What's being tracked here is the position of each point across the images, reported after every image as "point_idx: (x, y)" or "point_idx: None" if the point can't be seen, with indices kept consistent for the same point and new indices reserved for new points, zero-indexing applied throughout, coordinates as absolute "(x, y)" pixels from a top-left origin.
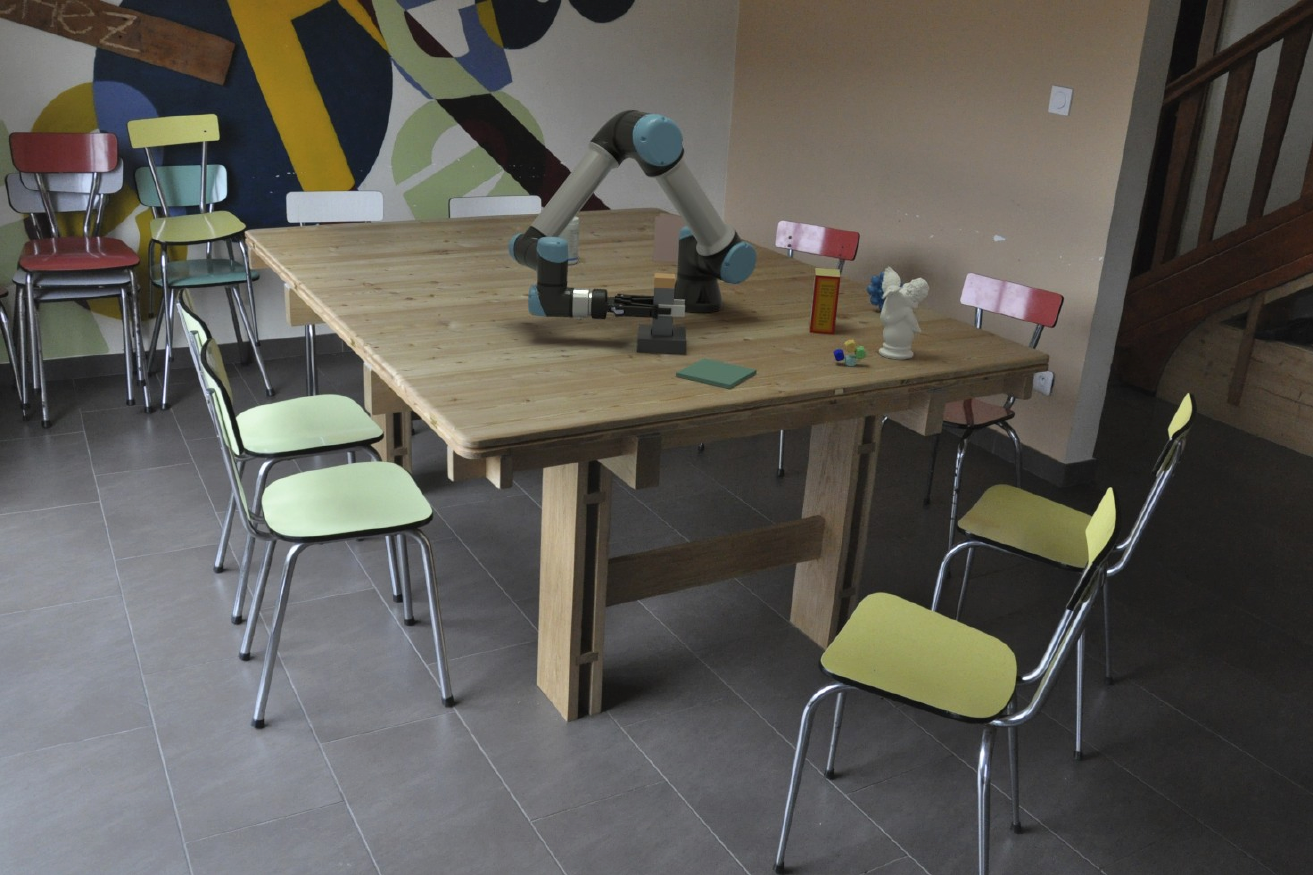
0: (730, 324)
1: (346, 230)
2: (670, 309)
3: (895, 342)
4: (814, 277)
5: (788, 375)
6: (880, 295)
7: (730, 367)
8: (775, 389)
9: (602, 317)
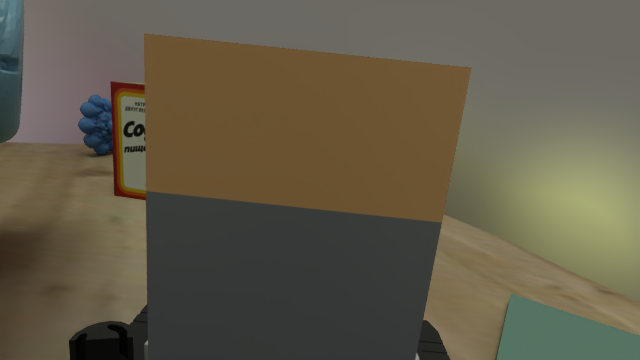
0: (24, 276)
1: None
2: (431, 325)
3: None
4: (132, 99)
5: (477, 265)
6: (102, 131)
7: (540, 336)
8: (597, 295)
9: None
